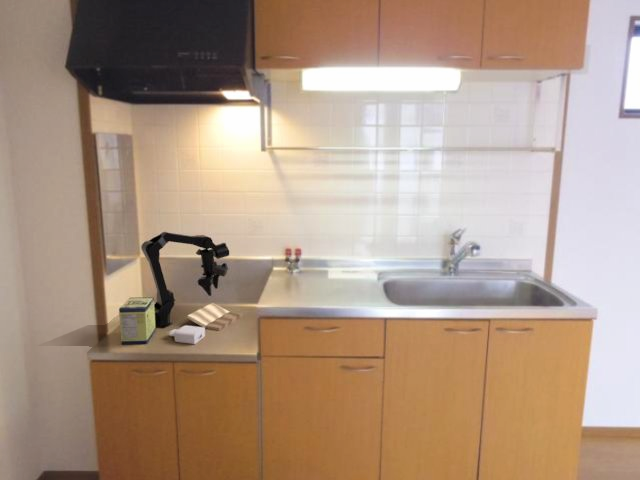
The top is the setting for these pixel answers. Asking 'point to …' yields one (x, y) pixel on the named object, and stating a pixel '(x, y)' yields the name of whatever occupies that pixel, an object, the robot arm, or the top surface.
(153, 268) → the robot arm
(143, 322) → the protein box
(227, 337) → the top surface
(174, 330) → the charger
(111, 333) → the top surface
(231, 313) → the walnut board
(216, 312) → the oak plank
